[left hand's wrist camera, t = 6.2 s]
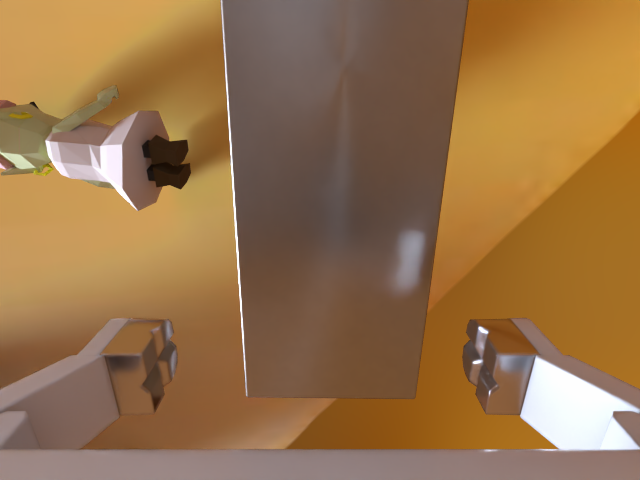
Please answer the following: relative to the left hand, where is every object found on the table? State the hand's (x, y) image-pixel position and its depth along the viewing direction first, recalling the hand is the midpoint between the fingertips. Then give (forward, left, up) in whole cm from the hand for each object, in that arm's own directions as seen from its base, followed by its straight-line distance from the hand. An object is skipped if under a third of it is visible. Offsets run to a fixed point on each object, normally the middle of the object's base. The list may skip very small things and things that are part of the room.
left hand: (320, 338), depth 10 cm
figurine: (+3, +17, -22) cm, 28 cm away
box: (+7, -1, -13) cm, 15 cm away
